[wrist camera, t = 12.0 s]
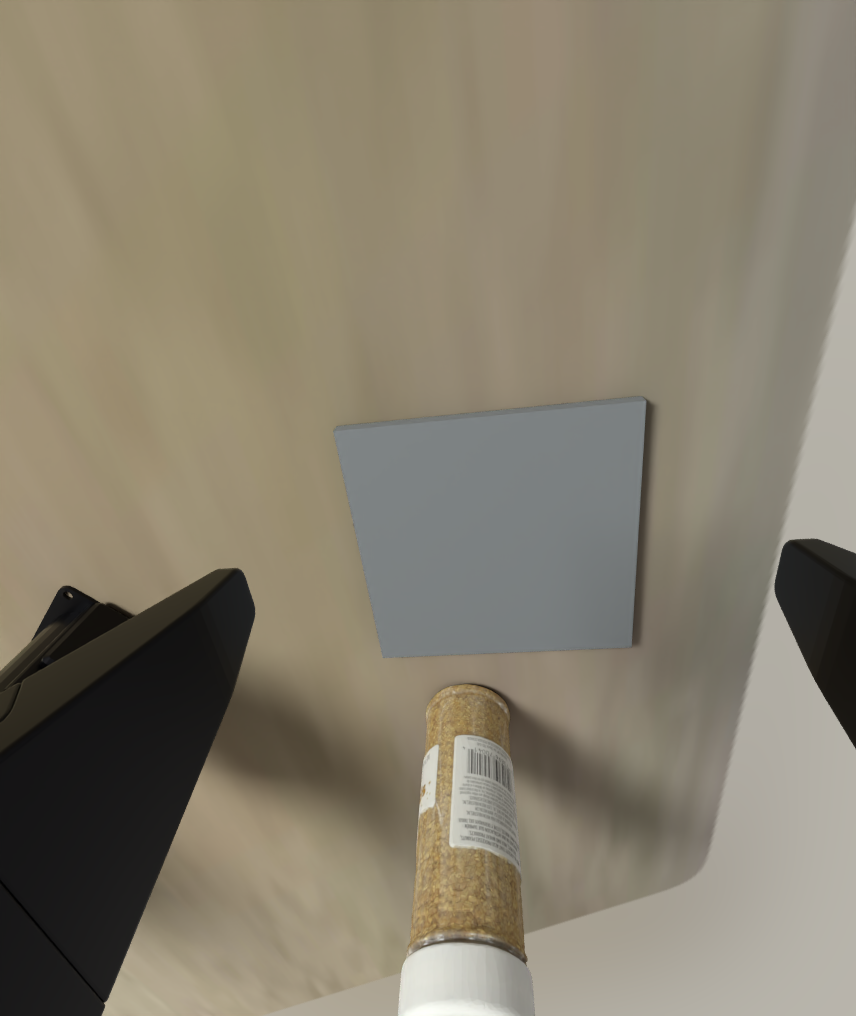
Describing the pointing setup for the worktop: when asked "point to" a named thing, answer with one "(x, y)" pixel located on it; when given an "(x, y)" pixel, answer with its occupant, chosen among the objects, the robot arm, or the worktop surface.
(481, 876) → the sprinkles bottle
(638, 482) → the rest mat
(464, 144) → the worktop surface
